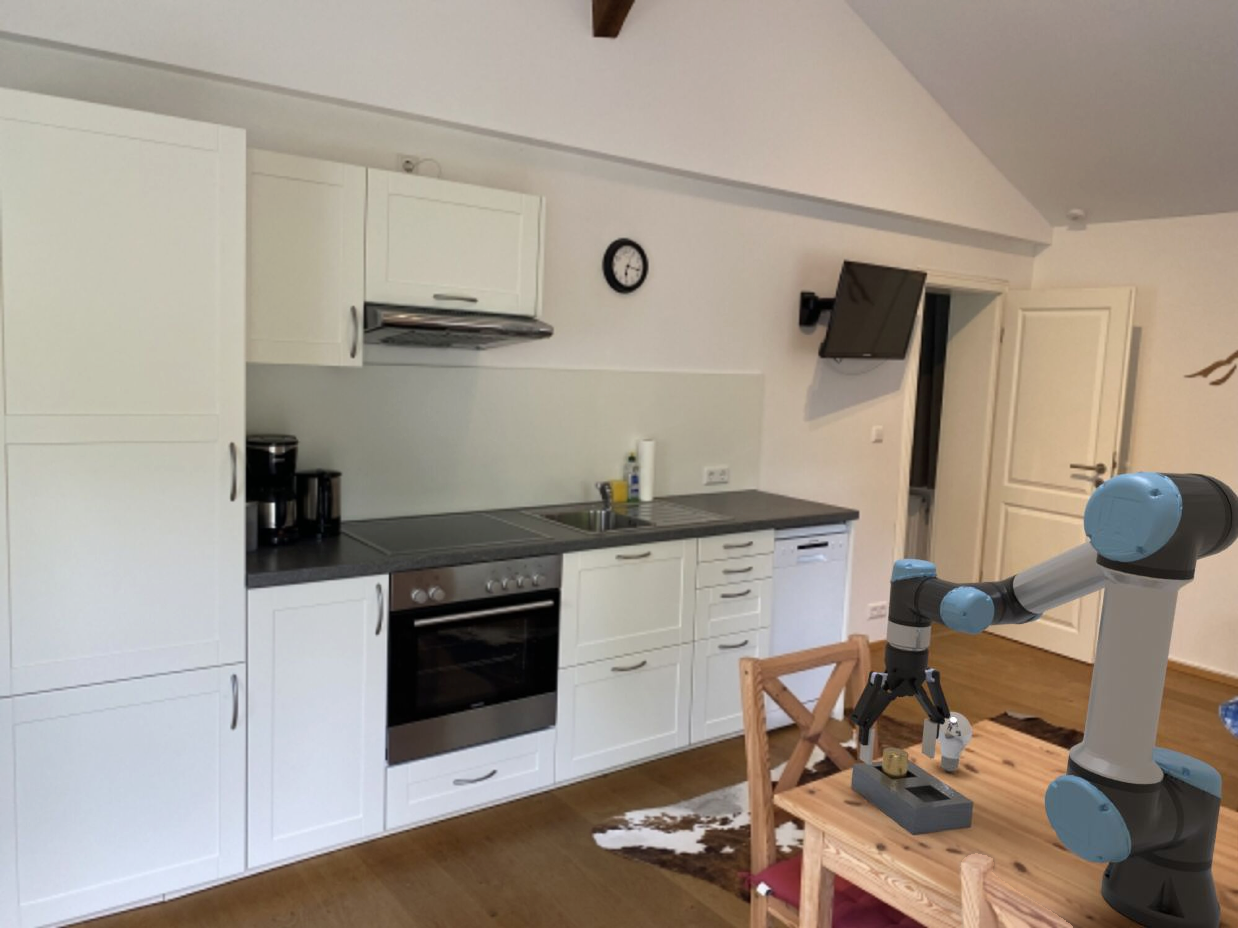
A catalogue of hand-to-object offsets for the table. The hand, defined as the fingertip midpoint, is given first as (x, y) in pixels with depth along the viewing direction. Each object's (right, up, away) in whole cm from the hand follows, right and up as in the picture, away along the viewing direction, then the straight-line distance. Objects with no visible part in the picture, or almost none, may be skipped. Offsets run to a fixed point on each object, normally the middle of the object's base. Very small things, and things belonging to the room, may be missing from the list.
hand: (897, 758), depth 165 cm
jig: (+1, -7, -3) cm, 8 cm away
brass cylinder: (-1, -7, +1) cm, 7 cm away
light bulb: (+14, -7, +13) cm, 21 cm away
